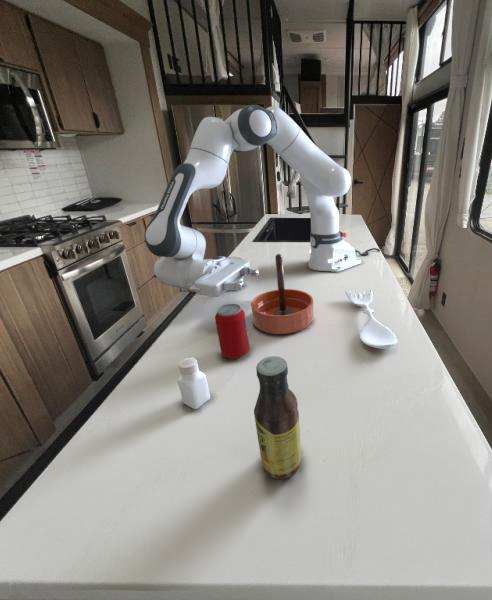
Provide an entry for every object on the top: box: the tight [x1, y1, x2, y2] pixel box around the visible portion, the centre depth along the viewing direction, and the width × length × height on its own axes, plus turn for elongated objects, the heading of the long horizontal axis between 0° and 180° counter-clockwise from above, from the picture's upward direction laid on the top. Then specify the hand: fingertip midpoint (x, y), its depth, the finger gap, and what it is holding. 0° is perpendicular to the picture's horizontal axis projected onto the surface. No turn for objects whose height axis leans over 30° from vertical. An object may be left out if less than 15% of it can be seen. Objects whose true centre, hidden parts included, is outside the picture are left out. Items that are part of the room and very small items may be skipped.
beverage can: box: [214, 303, 250, 359], centre depth 76 cm, size 7×7×12 cm
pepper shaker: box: [177, 356, 211, 410], centre depth 62 cm, size 4×4×10 cm
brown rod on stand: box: [274, 253, 293, 315], centre depth 89 cm, size 5×5×19 cm
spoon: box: [345, 288, 398, 349], centre depth 91 cm, size 9×32×4 cm, turn 5°
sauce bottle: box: [253, 355, 302, 480], centre depth 47 cm, size 6×6×20 cm
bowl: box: [250, 288, 315, 335], centre depth 92 cm, size 17×17×6 cm
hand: (250, 279), depth 90 cm, fingers open, 8 cm apart
